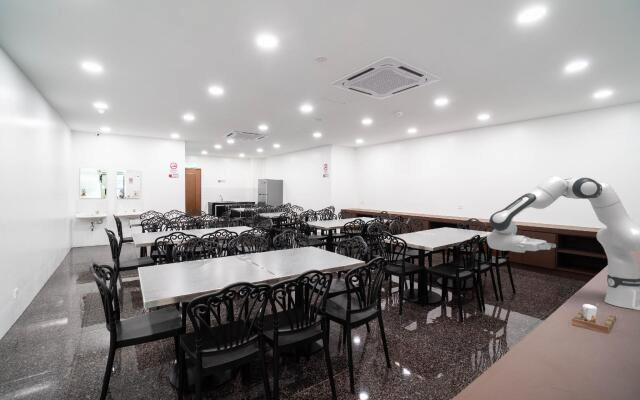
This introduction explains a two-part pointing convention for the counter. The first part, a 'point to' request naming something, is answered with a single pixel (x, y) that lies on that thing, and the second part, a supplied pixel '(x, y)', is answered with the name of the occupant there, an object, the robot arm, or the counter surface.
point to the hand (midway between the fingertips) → (552, 246)
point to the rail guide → (593, 326)
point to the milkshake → (589, 313)
